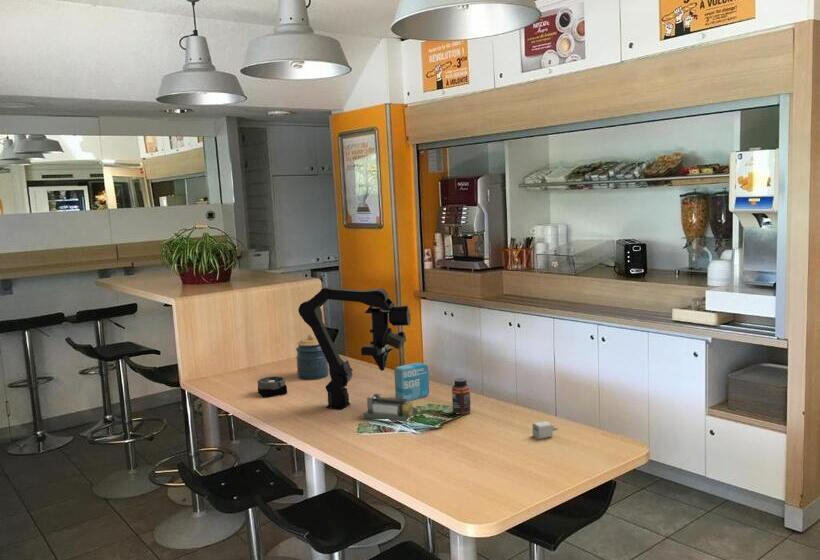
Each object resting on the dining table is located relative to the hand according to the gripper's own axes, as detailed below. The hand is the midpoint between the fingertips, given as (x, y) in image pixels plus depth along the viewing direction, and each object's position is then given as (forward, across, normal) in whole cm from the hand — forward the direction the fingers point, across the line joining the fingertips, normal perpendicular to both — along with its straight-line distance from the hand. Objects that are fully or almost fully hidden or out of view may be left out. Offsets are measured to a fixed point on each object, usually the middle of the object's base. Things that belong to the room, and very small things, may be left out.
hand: (382, 370), depth 245 cm
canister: (+13, +30, +48) cm, 58 cm away
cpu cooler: (+13, +3, +49) cm, 51 cm away
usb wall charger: (+13, -11, -60) cm, 62 cm away
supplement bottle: (+13, +2, -28) cm, 31 cm away
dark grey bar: (+8, -9, -7) cm, 14 cm away
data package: (+13, +13, -5) cm, 19 cm away
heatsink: (+13, -9, -7) cm, 17 cm away
